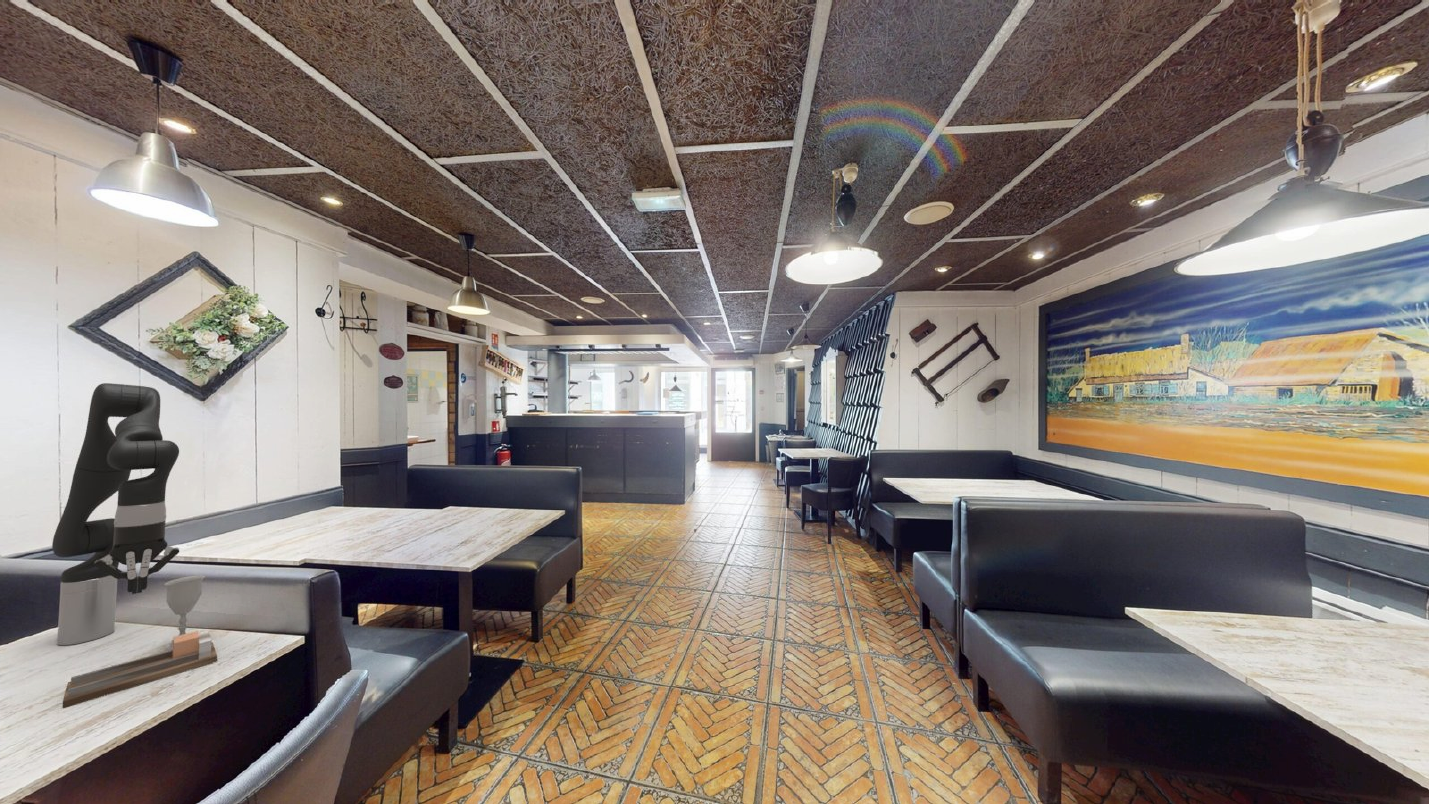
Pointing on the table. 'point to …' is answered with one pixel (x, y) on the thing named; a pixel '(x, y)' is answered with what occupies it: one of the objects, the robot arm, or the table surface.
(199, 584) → the chalice
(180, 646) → the orange-brown block
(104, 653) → the table surface
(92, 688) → the rail board
